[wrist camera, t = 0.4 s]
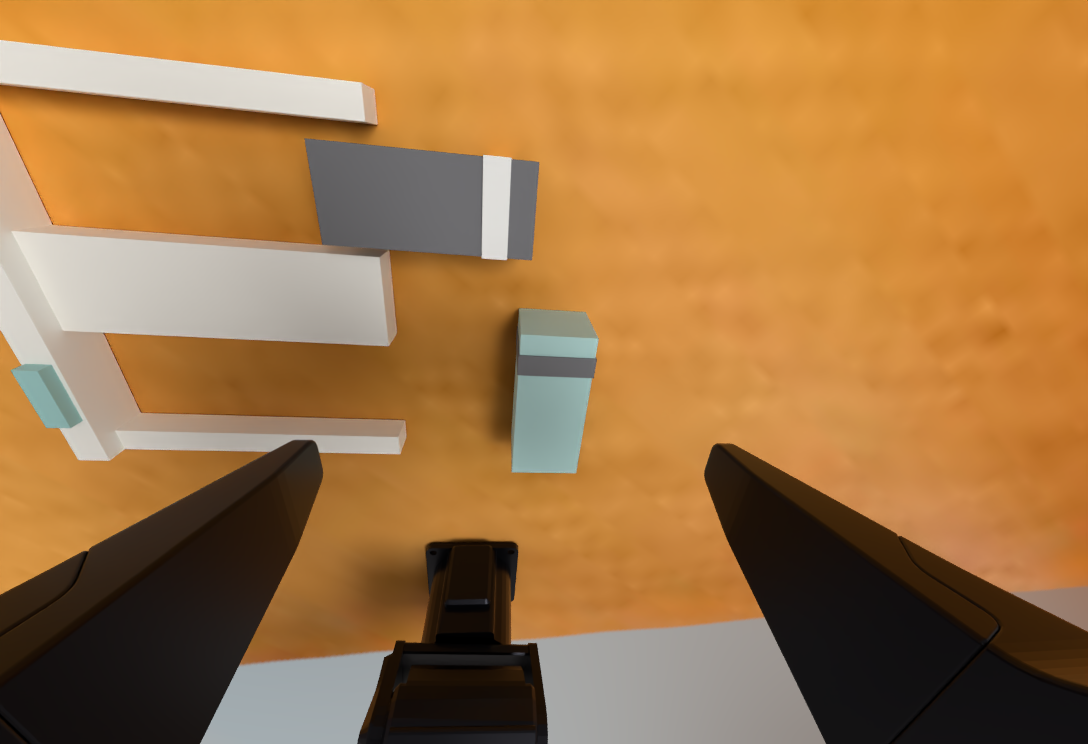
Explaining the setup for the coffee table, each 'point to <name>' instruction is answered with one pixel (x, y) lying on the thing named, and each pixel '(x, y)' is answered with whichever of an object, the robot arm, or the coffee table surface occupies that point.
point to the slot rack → (176, 274)
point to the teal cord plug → (551, 389)
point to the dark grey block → (423, 200)
